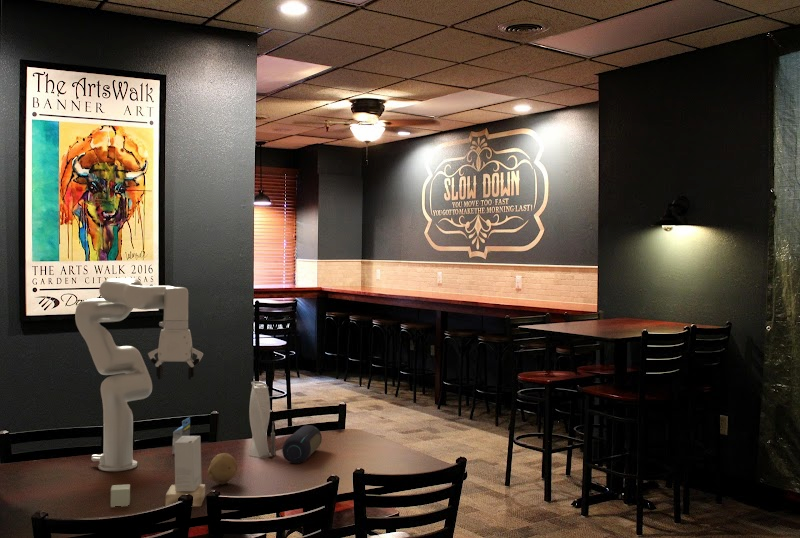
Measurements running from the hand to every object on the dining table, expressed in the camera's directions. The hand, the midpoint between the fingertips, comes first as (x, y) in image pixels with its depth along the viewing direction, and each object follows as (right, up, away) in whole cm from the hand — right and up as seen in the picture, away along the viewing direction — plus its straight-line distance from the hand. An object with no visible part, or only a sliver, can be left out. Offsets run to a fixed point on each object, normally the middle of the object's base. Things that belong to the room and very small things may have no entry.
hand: (175, 378), depth 252 cm
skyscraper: (+21, -34, +36) cm, 53 cm away
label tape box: (-9, -33, +40) cm, 53 cm away
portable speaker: (+36, -34, +35) cm, 61 cm away
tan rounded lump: (+16, -34, -1) cm, 37 cm away
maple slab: (+8, -34, -18) cm, 40 cm away
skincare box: (+9, -30, -18) cm, 36 cm away
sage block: (-10, -34, -22) cm, 41 cm away
